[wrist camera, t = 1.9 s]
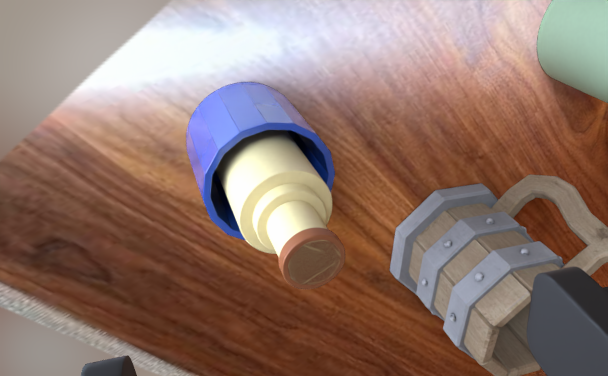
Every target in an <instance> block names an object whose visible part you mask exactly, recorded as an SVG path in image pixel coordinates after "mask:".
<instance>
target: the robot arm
mask: <svg viewBox="0 0 608 376" xmlns="http://www.w3.org/2000/svg"><path fill="white" fill-rule="evenodd" d="M527 340H528V344H529V348H530V350H531V352H532V355H533V357H534V358H535V360H536V361H537V363H538V364H539V365H540V367H541V368H542V369H543V371H544V372H545V373H546V375H547V376H608V287H604V288H602V287H601V286H600V285H599V284H598V283H597V282H596V281H594V280H593V279H592V278H591V277H590V276H589V275H588V274H587V273H586V272H585V271H583V270H582V269H581V268H579V267H574V266H573V267H568V268H563V269H558V270H553V271H548V272H543V273H539V274H537V275H536V277H535V279H534V282H533V289H532V295H531V302H530V309H529V316H528V323H527ZM81 376H137V375H136V372H135V369H134V366H133V363H132V361H131V359H130V357H129V356H122V357H117V358H112V359H107V360H102V361H98V362H93V363H88V364H85V366H84V367H83V370H82V373H81Z"/></svg>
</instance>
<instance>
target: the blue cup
mask: <svg viewBox="0 0 608 376" xmlns="http://www.w3.org/2000/svg"><path fill="white" fill-rule="evenodd" d="M265 130H286V131H287V132H288V133H289V135H290V136H291V137H292V139H293V140H294V141H295V143H296V144H297V146H298V147H299V148H300V150H301V151H302V152H303V154H304V155H305V156H306V158H307V159H308V160H309V162H310V163H311V165H312V166H313V167H314V169H315V170H316V171H317V173H318V174H319V175H320V177H321V178H322V179H323V181H324V182H325V184H326V185H327V186H328V188H329V190H330V193H331V190H332V186H333V181H334V176H335V170H334V166H333V161H332V156H331V152H330V150H329V149H328V148H327V146H326V145H325V144H324V143H323V141H322V140H321V139H320V138H319V136H318V135H317V134H316V133H315V132H314V130H313V129H312V128H311V127H310V126H309V124H308V123H307V122H306V121H305V120H304V118H303V117H302V116H301V115H300V114H299V113H298V111H297V110H296V109H295V108H294V107H293V105H292V104H291V103H290V102H289V101H288V99H287V98H286V97H285V96H284V95H283V94H281V93H280V92H278V91H277V90H275V89H273V88H272V87H269V86H267V85H264V84H260V83H254V82H241V83H234V84H231V85H227V86H225V87H222V88H220V89H218V90H216V91H215V92H213V93H212V94H210V95H209V96H208V97H206V98H205V99H204V100H203V101H202V102H201V103H200V105H199V106H198V107H197V108H196V110H195V111H194V113H193V115H192V117H191V119H190V121H189V125H188V128H187V134H186V144H187V153H188V156H189V159H190V162H191V165H192V168H193V171H194V174H195V177H196V180H197V183H198V186H199V189H200V192H201V195H202V198H203V201H204V203H205V206H206V208H207V211H208V213H209V216H210V218H211V220H212V221H213V222H214V223H215V224H216V225H218V226H219V227H220V228H221V229H222V230H223V231H224V232H225V233H227V234H228V235H230V236H233V237H236V238H240V239H243V240H245V238H244V237H243V235H242V233H241V231H240V228H239V226H238V223H237V221H236V218H235V216H234V213H233V211H232V209H231V206H230V204H229V201H228V199H227V196H226V194H225V191H224V189H223V186H222V184H221V181H220V179H219V176H218V174H217V171H216V168H217V166H218V164H219V163H220V161H221V159H222V157H223V155H224V154H225V153H226V152H228V151H229V150H230V149H231V148H232V147H234V146H235V145H236V144H237V143H238V142H240V141H241V140H242V139H243V138H246V137H248V136H251V135H254V134H257V133H260V132H263V131H265Z"/></svg>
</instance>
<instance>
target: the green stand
mask: <svg viewBox="0 0 608 376" xmlns="http://www.w3.org/2000/svg"><path fill="white" fill-rule="evenodd" d="M537 54H538V59H539V62H540V64H541V66H542V68H543V70H544V71H545V72H546V73H547V74H548V75H549V76H550V77H552V78H553V79H556V80H558V81H560V82H562V83H564V84H567V85H569V86H571V87H573V88H575V89H578V90H580V91H582V92H584V93H586V94H589V95H591V96H593V97H595V98H597V99H600V100H602V101H604V102H606V103H608V0H552V2H551V3H550V5H549V7H548V8H547V10H546V12H545V14H544V17H543V19H542V22H541V25H540V28H539V32H538V38H537Z"/></svg>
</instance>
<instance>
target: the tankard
mask: <svg viewBox="0 0 608 376" xmlns="http://www.w3.org/2000/svg"><path fill="white" fill-rule="evenodd" d="M534 198H544V199H548V200H550V201H551V202H553V203H554V204H556V205H557V206H558V208H559V210H560V212H561V214H562V215H563V217H564V219H565V221H566V223H567V225H568V226H569V228H570V229H571V230H572V231H573V232H574V233H575V234H576V235H577V236H578V237H579V238H580V239H581V240H582V241H583V242H584V243H585V244H586V245H587V247H586V248H585V249H583V250H582V251H581V252H580V253H579V254H577V255H576V256H575V257H574V258H573V259H571V260H570V261H569V262H568V263H566V264H565V265H564V263H563V262H562V261H563V259H562V258H561V257H560V256H557V255H556V254H555V253H553V252H552V251H551V250H550V249H549V248H547V247H546V246H545V245H544V244H543V243H541V242H540V241H538V242H534V241H533V240H532V239H531V237H530V236H529V235H528V234H527V233H526V228H525V227H523V226H520V225H519V224H518V223H517V222H516V221H515V220H514V219H513V218H514V217H515V215H516V214H517V213H518V212H519V211H520V210H521V208H522V207H523V206H524V205H525V204H526V203H527V202H529V201H531V200H533V199H534ZM607 262H608V227H606V226H605V225H604V224H603V223H602V222H601V221H600V220H598V219H597V218H596V217H595V216H594V215H593V214H592V213H591V212H590V211H589V209H588V207H587V206H586V204H585V202H584V201H583V199H582V197H581V196H580V194H579V192H578V191H577V189H576V188H575V187H574V186H572V185H571V184H569V183H567V182H566V181H564V180H562V179H561V178H559V177H557V176H545V175H531V174H529V175H528V176H527V177H525V178H524V179H522V180H521V181H520V182H518V183H517V184H515V185H514V186H513V187H511V188H510V189H509V190H507V191H506V193H505V194H504V195H503V196H502V197H501V198H500V199H499V200H498V199H497V198H496V197H495V196H494V194H493V193H492V192H491V191H490V190H489V189H488V188H487V187H485V186H484V185H483V184H482V183H481V184H474V185H468V186H461V187H454V188H448V189H441V190H435V191H434V192H433V193H432V194H431V195H430V196H429V197H428V198H427V199H426V200H425V201H424V202H423V203H422V204H421V205H420V206H419V207H418V208H416V209H415V210H414V211H413V212H412V213H411V214H410V215H409V216H408V217H407V218H406V219H405V220H404V221H403V222H402V223H401V224H400V225H399V226H398V227H397V228H396V232H395V238H394V245H393V252H392V259H391V265H390V272H391V273H392V274H393V276H394V277H395V278H396V279H397V280H398V281H400V282H401V283H402V284H403V285H405V286H406V287H407V288H409V289H410V290H411V291H412V292H414V293H415V294H416V295H418V297H419V298H420V299H421V301H422V302H423V303H424V305H425V306H426V307H427V308H428V309H429V310H430V311H431V313H432V314H433V315H437V316H438V317H440V318H441V319H442V320H444V321H445V323H444V327H443V330H444V331H445V332H446V334H447V335H448V336H449V337H450V339H451V340H452V341H453V343H454V344H455V345H456V346H457V347H458V348H459V349H460V350H461V351H464V352H465V353H466V354H468V355H469V356H470V357H472V358H473V359H475V360H476V361H477V362H478V363H479V364H480V365H481V366H482V367H484V368H485V369H486V370H488V371H489V372H491V373H492V374H493V375H495V376H520V375H523V374H527V373H530V372H534V371H537V370H540V365H539V364H538V363H537V361H536V360H535V358H534V357H533V355H532V352H531V350H530V348H529V344H528V340H527V323H528V316H529V309H530V302H531V295H532V289H533V282H534V279H535V277H536V275H537V274H539V273H543V272H548V271H553V270H558V269H563V268H568V267H573V266H574V267H579V268H581V269H582V270H583V271H585V272H586V273H587V274H588V275H589V276H591V275H592V274H593V273H594V272H595V271H596V270H597V269H598V268H599V267H600V266H601V265H603V264H604V263H607Z"/></svg>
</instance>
